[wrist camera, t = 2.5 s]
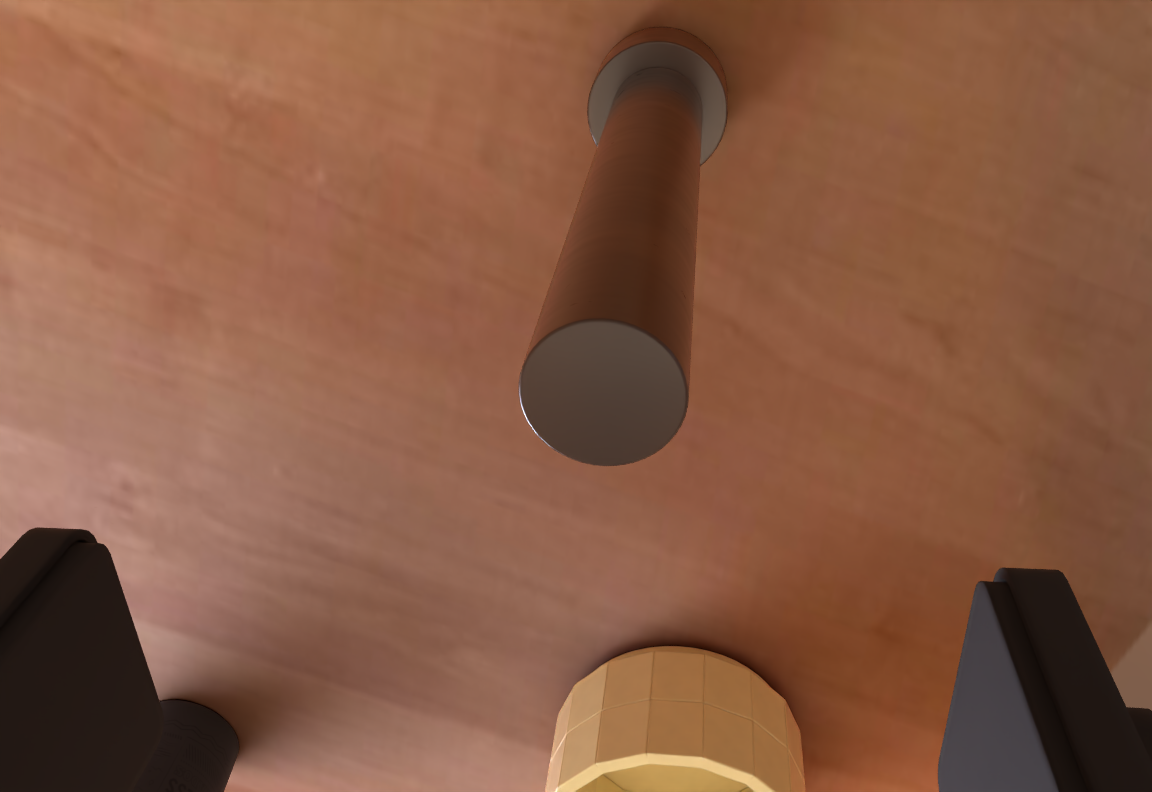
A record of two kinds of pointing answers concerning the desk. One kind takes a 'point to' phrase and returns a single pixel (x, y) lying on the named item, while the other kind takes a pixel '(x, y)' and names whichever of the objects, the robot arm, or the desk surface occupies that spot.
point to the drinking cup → (190, 751)
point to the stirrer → (629, 258)
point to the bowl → (675, 728)
